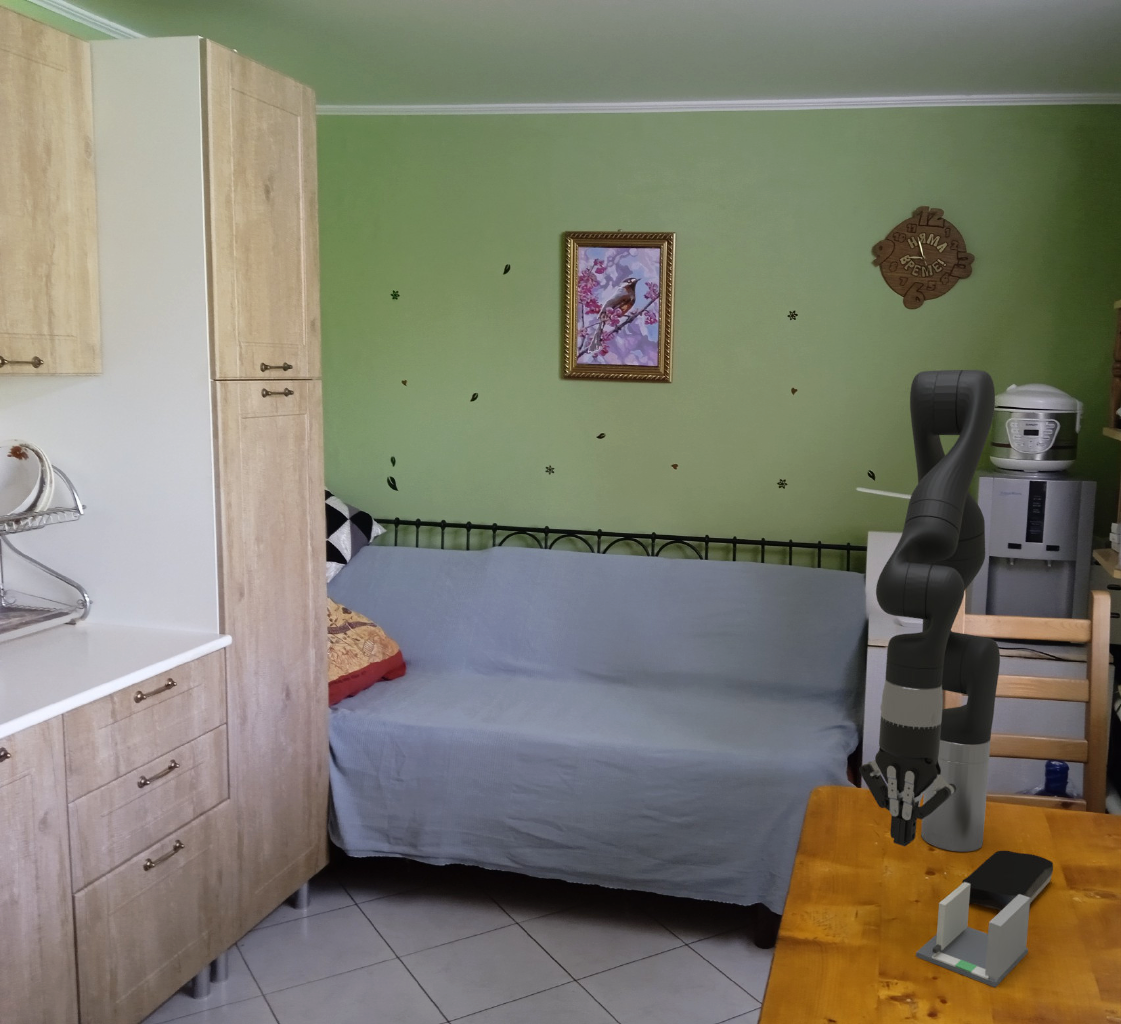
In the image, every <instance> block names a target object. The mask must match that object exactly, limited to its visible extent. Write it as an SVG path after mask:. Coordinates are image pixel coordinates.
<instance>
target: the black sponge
mask: <svg viewBox="0 0 1121 1024" xmlns="http://www.w3.org/2000/svg"><path fill="white" fill-rule="evenodd" d="M1053 872H1054V863H1053V861H1051V860H1049V859H1047V858H1045V857H1042V856H1039V855H1035V854H1031V853H1025V852H1022V853H1021V852H1015V851H1010V850H997V851H995V852H994V853H993V854H992V855H990V856H989V858H987V859H986V860H985V861H984V862H983V863H982V864H981V865H979V866H978V867H977V868H976V869H975V870H974V871H972V873H970V875H968V876H967V877H965V878H964V879H963V880H962V881H961V884H963V883H964V882H966V883H969V884H970V898H969V904H974V905H977V906H978V905H979V906H982V907H986V908H990V909H995V910H998V911H1002V910H1003V909H1004V908H1005V907H1006V906H1007V905H1008V904H1009V903H1010V902H1011V901H1012V900H1013V899H1014V898H1015V897H1016V896H1017V895H1018V894H1020V895H1023V896H1027V897H1030V904H1031V903H1032V902H1033V901H1034V899H1035V898H1037V896H1038V895H1039V894H1040V893H1042V891H1043V890H1044V888H1045V887H1046V886H1047V885H1048V884H1049V882H1051V880H1052V875H1053Z"/></svg>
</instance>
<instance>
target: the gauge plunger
mask: <svg viewBox="0 0 1121 1024" xmlns="http://www.w3.org/2000/svg"><path fill="white" fill-rule="evenodd" d="M969 898H970V884H969V883H966V882H964V883H963V884H962V883H961V884H960V885H959V886H958V887H956V888H955V889H954V890H953V891H951V892H950V893H949V895H947V896H945V898H944V899H942V900H941V901H940V902H938V913H937V929H936V934H937V940H936V946H935V947H934V948H933V953H936V954H937V953H938V952H939V951H940V950H943V949H944V948H945V947H946V946H947V945H948V944H949V943H951V942H952V941H953V940H954V939H955V938H956V937H957V936H958V935H959V934H960V933H961V932H963V931H964V930H965V929H966V928H967V927H968V924H969V923H968V921H969V910H970V909H969V907H970V903H969Z"/></svg>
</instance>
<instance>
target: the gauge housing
mask: <svg viewBox="0 0 1121 1024" xmlns="http://www.w3.org/2000/svg"><path fill="white" fill-rule="evenodd" d="M1030 905H1031V903H1030V897H1027V896H1023V895H1020V894H1018V895H1017V896H1016V897H1015V898H1014V899H1013V900H1012V901H1011V902H1010V903H1009V904H1008V905H1007V906H1006V907H1005V908H1004V909H1003V910H1002V911H1001V910H999V912H998V914H996V915H995V916H994V917H993V918H992V919H991V920H989V922H988V931H987V933H986V932H984V931H981V930H978V929H976V928H972V927H970V926H967V928H966V929H965V930H964V931H963V932H961V933H960V934H959V935H958V936H957V937H956V938H955V939H954V940H953V941H952V942H951V943H949V944H948V945H947V946H946V947H945V948H944V949H943V950H940V951H939V952H938V953H937V954H936V953H933V948H934V947H935V946H936V940H937V933H936V934H935V935H934V936H932V938H930V940H928V941H927V942H926V943H925V944H924V945H923V946H922V947H920V949H918V950H916V953H915V957H917V958H918V959H922V960H924V961H927V962H929V963H931V964H934V965H937V966H939V967H941V968H944V969H947V970H949V971H951V972H955V973H957V974H958V975H959V974H960V975H962V976H964V977H968V978H970V979H973V980H975V981H978V982H980V983H982V984H986V985H988V986H990V987H993V988H996V987H998V986H999V984H1001V982H1002V981H1003V980H1004V979H1005V978H1006V977H1007V976H1008V975H1009V973H1010V972H1011V971H1013V969H1014V968H1015V967H1016V966H1017V965H1018V964H1019V963H1020V962H1021V961H1022V960H1023V959H1024V958H1025V957H1026V955H1027V954H1028V953H1029V948H1028V947H1027V944H1028V943H1027V940H1028V931H1029V917H1030Z"/></svg>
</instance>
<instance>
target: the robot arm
mask: <svg viewBox="0 0 1121 1024" xmlns="http://www.w3.org/2000/svg"><path fill="white" fill-rule="evenodd" d="M995 392H996V391H995V385H994V380H993V377H992V376H991V375H990V373H988V372H987V371H985V370H978V369H951V370H950V369H949V370H948V369H947V370H945V369H943V370H942V369H941V370H925V371H920V372H919V373H917V374H915V376H914V377H913V379H912V382H911V386H910V393H909V411H910V421H911V428H912V429H911V430H912V438H913V446H914V447H913V448H914V452H915V453H914V454H915V463H916V472H917V485H915V488H914V490H913V491H912V494H911V495H910V499H909V502H908V507H907V510H906V516H905V520H904V523H903V524H904V525H903V529H902V534H901V536H900V538H899V541H898V542H897V545H896V547H895V548H894V550H893V552H892V554H891V555H890V557H889V558H888V560H887V562H886V563H885V565H884V567H883V568H882V570H881V573H880V574H879V577H878V579H877V581H876V582H877V583H876V589H875V595H876V600H877V603H878V606H879V607H880V609H881V610H882V611H883V612H884V613H886V614H888V615H891V616H895V617H901V618H902V617H903V618H911V619H919V620H922V631H920V632H913V633H902V634H896V635H894V636H892V637H891V638H890V639H889V641H888V644H887V649H886V650H887V651H886V663H885V664H886V665H885V679H884V686H883V689H882V693H881V694H882V696H881V703H880V725H879V736H878V737H879V739H878V747H879V749H878V752H877V753H876V754H875V756H874V758H875V759H874V760H873V761H868V762H865V763H864V764H862V765H860V766H859V768H858V771H859V774H860V775H861V777H862V779H863V780H864V782H865V784H866V785H867V788H868V789H869V792H870V793H871V795H872V797H873V798H874V800H875V802H876V804H877V805H878V807H879V808H881V809H886V810H887V811H888V812H889V813H890V815H891V818H890V822H891V823H890V833H889V834H890V837H891V838H892V839H893V843H894V844H895V845H899V846H902V847H906V846H908V845H909V844H911V843H912V842H914V840H915V839H916V834H917V833H916V832H917V821H918V820H917V819H919V820H921V832H920V834H921V835H920V836H921V838H922V839H923V840H924V841H925V842H926V843H928V844H930V845H932V846H933V847H936V848H939V849H942V850H947V851H952V852H966V853H967V852H972V851H977V850H979V849H981V848H982V847H983V843H984V830H985V829H984V828H985V819H986V808H987V807H986V806H987V805H986V804H987V792H988V778H989V777H988V776H989V765H990V763H989V762H990V752H991V751H990V749H991V738H992V737H991V736H992V727H993V721H994V715H995V704H996V703H995V702H996V696H997V695H996V694H997V688H998V687H997V686H998V681H999V675H1000V674H999V673H1000V666H1001V665H1000V663H1001V654H1000V647H999V644H997V642H996V641H995V640H994V639H993V638H989V637H985V636H980V635H979V636H978V635H974V634H967V633H963V632H961V633H960V632H956V631H952V628H953V625H954V623H955V621H956V617H957V615H958V614H959V611H960V609H961V607H962V603H963V601H964V596H965V591H966V589H967V588H968V587H969V585H971V584H972V582H973V581H974V579H975V578H976V576H977V575H978V574H979V572H980V570H981V569H982V568H983V567H982V566H983V565H984V562H985V560H986V534H985V533H986V532H985V531H986V530H985V529H986V525H985V524H986V523H985V517H984V515H983V512H982V510H981V508H980V506H979V504H978V502H977V501H976V500H975V498H974V497H973V495H972V494H971V493H970V492H969V490H970V487H971V484H972V482H973V478H974V476H975V474H976V471H977V467H978V465H979V463H980V460H981V457H982V454H983V451H984V448H985V445H986V443H987V439H988V436H989V433H990V430H991V428H992V427H991V426H992V424H993V419H994V415H995V408H996V407H995V406H996V393H995ZM941 436H958V438H957V440H956V441H955V442H954V445H953V446H952V447H951V448H950V450H949V451H948V452H947V453H946V454H945V451H944V448H943V444H942V442H941V441H942V440H941V438H940V437H941ZM943 691H945V692H946V691H947V692H951V693H955V694H961V695H966V696H967V701H966V703H965V704H963V705H961V706H956V707H949V708H943V703H944V702H943V700H944V699H943V698H944V697H943ZM922 799H923V803H922V805H921V800H922ZM920 805H921V806H920Z"/></svg>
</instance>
